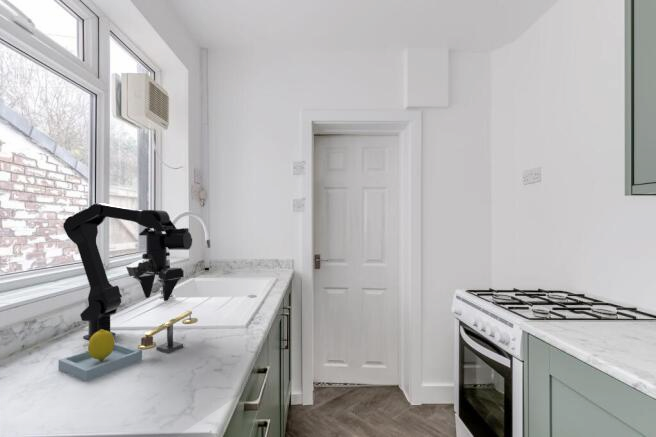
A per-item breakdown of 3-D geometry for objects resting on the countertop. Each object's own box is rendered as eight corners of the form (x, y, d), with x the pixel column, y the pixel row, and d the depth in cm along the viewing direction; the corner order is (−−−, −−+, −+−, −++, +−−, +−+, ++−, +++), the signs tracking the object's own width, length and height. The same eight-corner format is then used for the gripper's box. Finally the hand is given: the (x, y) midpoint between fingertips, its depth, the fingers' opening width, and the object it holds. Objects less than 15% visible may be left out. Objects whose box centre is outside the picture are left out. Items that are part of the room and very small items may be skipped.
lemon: (82, 364, 80) (82, 332, 80) (101, 355, 86) (101, 325, 86) (101, 366, 79) (101, 333, 79) (119, 357, 85) (119, 326, 85)
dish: (58, 369, 80) (58, 359, 80) (114, 351, 91) (114, 342, 91) (86, 381, 74) (86, 370, 74) (142, 360, 85) (142, 350, 85)
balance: (133, 358, 86) (133, 324, 86) (190, 337, 102) (190, 308, 102) (144, 362, 84) (144, 327, 84) (201, 339, 100) (201, 310, 100)
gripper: (113, 250, 100) (112, 301, 100) (150, 253, 91) (150, 309, 91) (147, 248, 109) (147, 294, 109) (184, 250, 101) (184, 300, 101)
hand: (156, 299), depth 102 cm, fingers open, 9 cm apart
